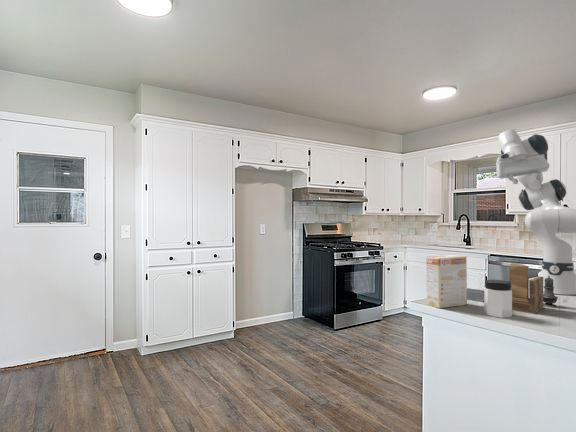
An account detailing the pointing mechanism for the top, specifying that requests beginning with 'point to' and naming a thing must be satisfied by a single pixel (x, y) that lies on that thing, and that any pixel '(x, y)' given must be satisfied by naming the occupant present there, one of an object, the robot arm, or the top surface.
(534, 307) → the walnut rack
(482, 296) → the slate holder
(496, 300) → the jar
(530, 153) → the robot arm
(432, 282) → the coffeecake box
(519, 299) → the offcut boards
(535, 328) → the top surface
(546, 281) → the salt shaker
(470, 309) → the top surface
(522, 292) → the wooden block
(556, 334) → the top surface
